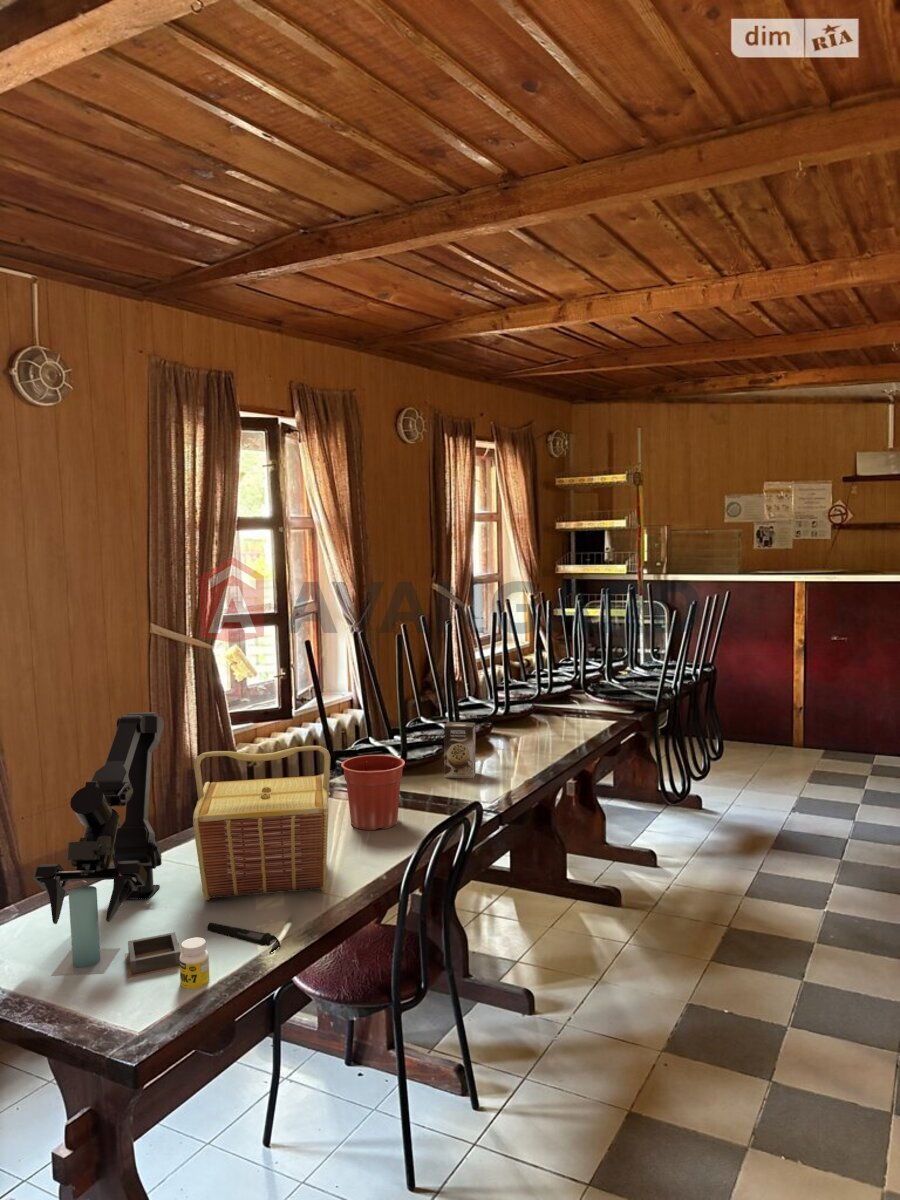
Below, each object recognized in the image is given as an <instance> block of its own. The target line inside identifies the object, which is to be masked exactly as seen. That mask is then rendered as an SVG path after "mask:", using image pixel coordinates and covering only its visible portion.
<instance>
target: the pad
mask: <svg viewBox="0 0 900 1200" xmlns="http://www.w3.org/2000/svg"><path fill="white" fill-rule="evenodd" d="M120 950H121V948H120V947H118V948H100V958H101V959H100V961H99V962H98V963H97V964H95V965H93V966H90V967H86V968H77V967H74V966H73V959H72V949H71V950H69V951H68V953H67V954H66V955H65V957H64V958H63V960H62V961H61V962H60V963H59V964H58V966H57V967H56V969H55V970H54V971H53V973H51V977H57V976H58V977H59V976H60V977H61V976H75V975H76V976H77V975H78V976H79V975H97V974H98V975H99V974H101V975H102V974H105V973H106V971H107V970H108V968H109V967H110V966H111V963H112V962H113V960H115V957H116V955H118V953H119V952H120Z"/></svg>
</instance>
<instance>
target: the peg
mask: <svg viewBox="0 0 900 1200" xmlns="http://www.w3.org/2000/svg"><path fill="white" fill-rule="evenodd" d="M97 890H98V889H97V887H95V886H93V885H84V886H78V887H75V888H73V889H71V890H70V891H69V892H68V904H69V907H68V908H69V920H70V921H69V922H70V923H69V925H70V938H71V939H70V941H71V950H72V959H73V966H74V967H77V968H86V967H90V966H93V965H95V964H97V963H98V962H99V961H100V959H101V958H100V949H101V945H100V944H101V941H100V926H99V911H98V909H99V907H98V906H99V905H98V891H97Z"/></svg>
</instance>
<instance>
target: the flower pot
mask: <svg viewBox="0 0 900 1200" xmlns="http://www.w3.org/2000/svg"><path fill="white" fill-rule="evenodd" d="M405 763H406V762H405V760H404V759H403V758H401V757H397V756H393V755H385V754H368V755H359V756H355V757H351V758H348V759H345V760H343V761H342V763H341V765H340V766H341V768H342V769H343V773H344V774H343V775H344V780H345V782H346V789H347V790H346V791H347V798H348V807H349V815H350V816H349V817H350V823H351V824H352V826H353V828H356V829H360V830H363V831H364V830H365V831H377V829H383V830H384V829H385V830H386V829H388V828H392V827H393V826H395V825H396V824H397V823H398V817H399V806H400V805H399V803H400V791H401V780H402V778H403V768H404V766H405Z"/></svg>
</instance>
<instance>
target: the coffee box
mask: <svg viewBox="0 0 900 1200" xmlns="http://www.w3.org/2000/svg"><path fill="white" fill-rule="evenodd" d="M443 730H444V731H443V734H444V736H443V745H444V747H443V749H444V750H443V753H444V755H443V756H444V759H443V762H444V778H452V779H453V778H455V779H456V778H457V779H474V777H475V775H476V773H477V771H476V722H458V721H447V722H446V723H445V725H443Z"/></svg>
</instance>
